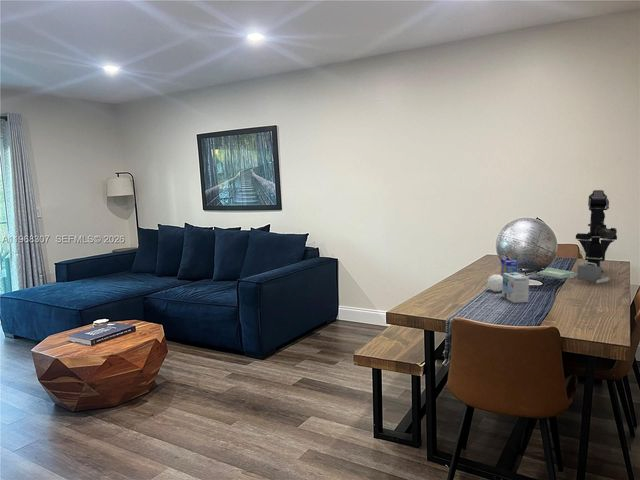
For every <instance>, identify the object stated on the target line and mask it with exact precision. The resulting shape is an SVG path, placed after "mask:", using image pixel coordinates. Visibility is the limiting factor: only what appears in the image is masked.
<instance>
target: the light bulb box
mask: <svg viewBox="0 0 640 480" xmlns="http://www.w3.org/2000/svg"><path fill="white" fill-rule="evenodd" d="M529 286H530V277H529V276H528V275H527V276H526V275H524V274H521V273H520V272H518V273H517V272H514V273H503V286H502V291H501V297H503V298H504V299H506V300H508V301H510V302H511V303H514V304H515V303H516V304H517V303H519V304H520V303H528V302H529V291H530V290H529V289H530V287H529Z"/></svg>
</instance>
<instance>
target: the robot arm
mask: <svg viewBox="0 0 640 480" xmlns="http://www.w3.org/2000/svg"><path fill="white" fill-rule="evenodd" d="M587 207H588V211H590V220H589V221H590V222H589V223H588V224H587V226H588V227H589V232H588V231H587V233H586V232H585V233H580V232H578V233H576V235H575V240H577V242H579V243H580V244H581V246H582V249H583V251H584V253H585V256H584V257H585V261H587V262H590V263H596V264H597V266H599V267H601V262H604V261H605V260H606V252H607V250H608V248H609V246H610V244H612V243H614V242H615V240H616V241H617V240H618V235H617V232H618V231H617V228H616V227H611V228H607V224H605V219H606V214H605V212H604V211H608V209H610V200H609V199H608V196H607V194H605V191H604V190H602V189H598V190H597V189H596V190H595V189H594V190H592V193H591V194H589V195H588V206H587ZM586 264H587V263H586ZM587 265H593V264H587ZM593 266H595V265H593ZM603 271H604V270H602V272H603Z"/></svg>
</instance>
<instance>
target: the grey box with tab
mask: <svg viewBox="0 0 640 480" xmlns="http://www.w3.org/2000/svg"><path fill="white" fill-rule="evenodd" d="M587 264H593V265H595V266H593V265H587ZM602 268H603V267H602V266H600V267H599V266H597V264H596V263H590V262H588V261H582V263H581V264H577V272H576V274H577V277H576V279H578V280H584V281H588V282H593V283H596V282H597V280H600V279H601V276H602V272H603V271H602Z"/></svg>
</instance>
